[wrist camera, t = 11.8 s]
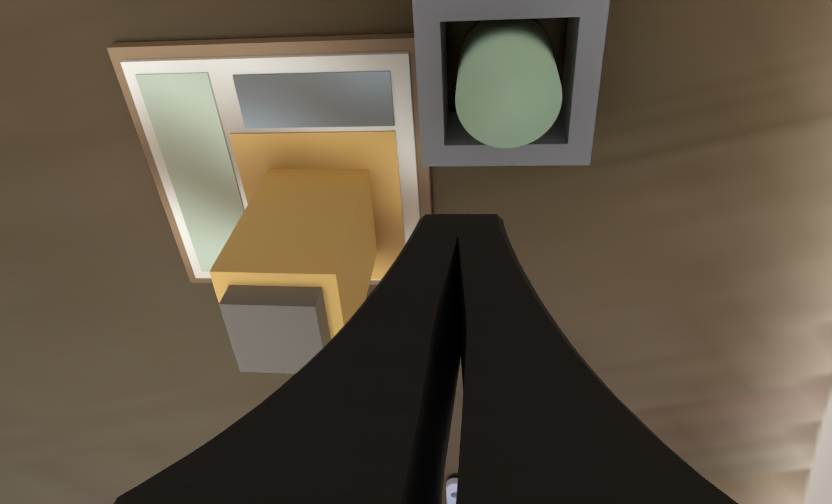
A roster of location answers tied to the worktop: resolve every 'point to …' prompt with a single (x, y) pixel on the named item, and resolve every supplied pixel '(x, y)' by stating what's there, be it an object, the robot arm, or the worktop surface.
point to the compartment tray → (275, 128)
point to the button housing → (580, 84)
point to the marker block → (296, 266)
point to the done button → (507, 83)
